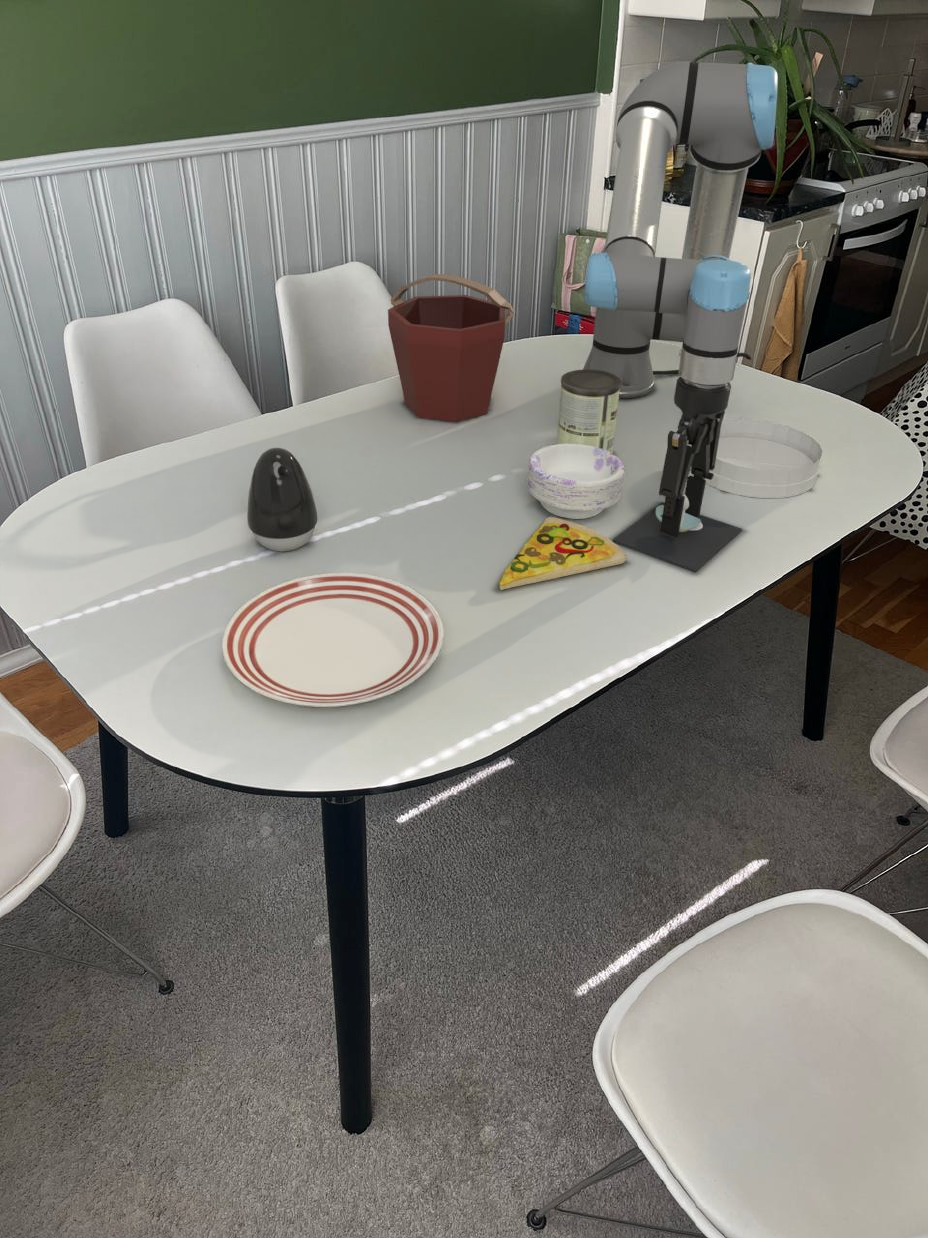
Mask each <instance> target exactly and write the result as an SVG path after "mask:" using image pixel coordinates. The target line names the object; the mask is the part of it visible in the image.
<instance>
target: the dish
mask: <svg viewBox="0 0 928 1238" xmlns="http://www.w3.org/2000/svg"><path fill="white" fill-rule="evenodd" d="M822 455H823V449H822V447H821V444H820V443H819V442H818V441H816V440H815V438H813V436H810V435H809V434H807V433H805V432H804V431H801V430H799V429H796V428H794V427H792V426H788V425H785V424H781V423H778V422H775V421H767V420H762V419H751V418H725V419H723V420H722V424H721V429H720V436H719V442H718V449H717V456H716V462H715V468H714V469H713V471H711V470H709V472H710V473H713V474H714V476H713V478H712V480H709V479H706V478H705V480H706V483H705V485H708V486H710V487H712V488H714V489H717V490H720V491H723V492H726V493H728V494H732V495H736V496H737V495H738V496H742V497H747V498H758V499H785V498H790V497H795V496H800V495H802V494H804V493H806V492H809V491H810V490H811V489H813V487H814V486H815V485H816V483H817V478H818V474H819V472H820V468H821V467H820V461H821V458H822ZM690 471H691V468H690Z"/></svg>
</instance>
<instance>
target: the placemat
mask: <svg viewBox="0 0 928 1238" xmlns="http://www.w3.org/2000/svg"><path fill="white" fill-rule="evenodd" d="M664 504H665V502H664V501H662V502H660V503H659V504H658V505H656V506H655V507H654V508H653V509H651V510H650V511H649V512H647V513H646V514H645V515H643V516H642V517H641V518H640V519H638V520H637V521H635V522H633V524H631V525H630V526H629V527H628V528H626V529H624V531H622V532H621V533H619V534H618V535H617V536H616V537H615V538H613V539H612V542H613V543H615V544H616V545H621V546H623V547H625V548H628V549H632V550H634V551H637V552H639V553H641V554H645V555H647V556H650V557H653V558H656V559H658V560H661V561H664V562H667V563H669V564H673V565H674V566H677V567H680V568H683V569H686V570H689V571H691V572H694V573H697V572H698V571H699V570H700V569H701V568H702V567H703V566H705V565H706V564H707V563H708V562H709V561H710V560H711V559H713V557H715V556H716V555H717V554H718V553H719V552H720V551H721V550H722V549H724V548H725V547H726V546H727V545H728V544H729V543H730V542H731V541H732V540H733V539H735V538H736V537H737V536H738V535H739V534H740V533H742V531H743V528H742V527H738V526H735V525H732V524H729V523H726V522H723V521H721V520H717V519H714V518H711V517H708V516H704V515H703V514H700V516H699V519H700V520H701V523H702V525H703V527H702V528H701V529H700V530H696V531H691V530H688V531H686V532H679V535H678V536H677V537H674V536H672V535H669V534H666V533H663V532H660V529H661V523H662V522H661V521H659V520H658V518H657V517H656V508H657V507H658V506H660V505H664ZM661 517H662V516H661Z"/></svg>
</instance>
